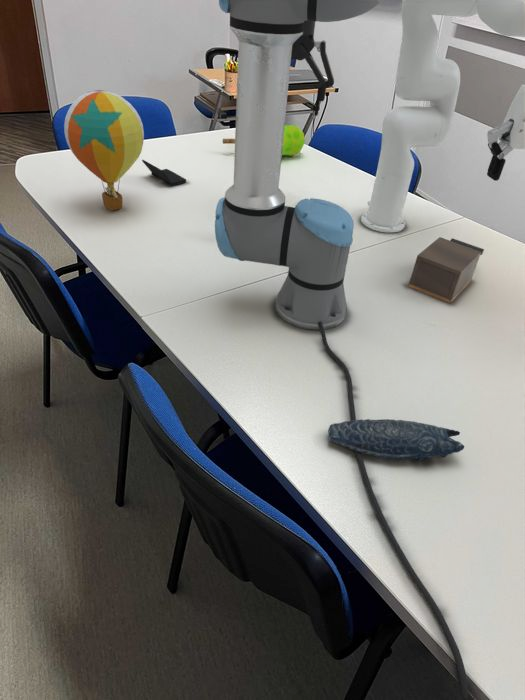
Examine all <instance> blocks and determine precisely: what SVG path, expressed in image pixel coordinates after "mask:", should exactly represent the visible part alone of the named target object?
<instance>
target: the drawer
mask: <svg viewBox="0 0 525 700" xmlns="http://www.w3.org/2000/svg"><path fill="white" fill-rule="evenodd" d="M450 241H453V242H455V243H458V244H461V245H464V246H467V247H470V248H472V249H475V250H478V251H481V255H480V256H482V255H483V253H484V252H485V249H484V248H481V247H478V246H477V245H473V244H470V243H468V242H464V241H462V240H458V239H457V238H452V237H451V239H450Z"/></svg>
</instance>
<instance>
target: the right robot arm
mask: <svg viewBox="0 0 525 700" xmlns="http://www.w3.org/2000/svg"><path fill="white" fill-rule="evenodd" d="M434 15H435V16H445V17H460V18H461V17H462V18H465V17H466V18H467V17H472V16H476V15H477V16H478V18H479V20H480V21H481V22H483V24H485V25H486V26H487V27H489V28H490V29H491V30H492V31H494V32H495V33H497V34H500V35H502V36H505V37H517V38H519V37H520V38H521V37H522V38H525V0H402V1H401V23H402V33H401V34H402V36H401V43H400V50H399V56H398V61H397V62H398V63H397V70H396V75H395V86H394V91H395V94H396V96H397V98H399V99H400V100H404V101H412V102H413V101H414V102H415V101H416V102H417V101H418V102H429V106H414V105H413V106H412V105H411V106H410V105H409V106H408V105H406V106H405V105H404V106H397V107H394V108H392V109H390V110H388V112H387V113H385V116H384V118H383V121H382V127H381V128H382V129H381V133H382V134H381V146H380V151H379V152H380V153H379V158H378V163H377V169H376V173H375V178H374V183H373V187H372V191H371V197H370V200H368V201H367V205H368V211H366V212H363V213H362V215H361V218H360V221H361V223H362V225H364V226H365V227H366V228H368V229H370V230H373V231H375V232H381V233H389V234H390V233H398V232H401V231H403V230H404V229H405V226H406V221H405V220H404V218H402V216H403V212H404V207H405V204H406V200H407V196H408V192H409V188H410V186H411V181H412V177H413V173H414V169H415V159H414V157H413V154H412V152H411V148H416V147H437V146H441V145H442V144H443V143H445V142H446V140H447V138H448V137H449V134H450V131H451V128H452V123H453V121H454V115H455V111H456V105H457V101H458V98H459V97H458V96H459V92H460V86H461V70H460V67H459V65H458V64H457V63H456V61H454V60H453V59H450V58H442V57H440V58H438V57H437V50H438V45H439V30H438V27H437V23H436V21H435V19H434V17H433V16H434ZM508 108H509V109H508V110H507V113H506V114H505V117H504V119H503V122H502V124H499V125H497V126H496V127H494V128H491V129H490V130H488V131H487V134H486V137H487V142H488V143H487V146H488V149H489V151H490V154H491V155H492V156H491V159H490V162H489V165H488V168H487V173H486V176H487V177H488V178H490V179H491V180H493V181H494V182H495V181H496V182H497V181H499V180H500V178H501V175H502V172H503V170H504V167H505V164H506V159H505V158H506V156H507V155H509V154H510V152H512V151H513V150H525V84H523V83H522V84H521V85H520V87H519V89H518V91H517V93H516V94H515V96H514V97H513V100H512V102H511V104H510V106H509V107H508Z"/></svg>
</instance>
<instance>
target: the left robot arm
mask: <svg viewBox="0 0 525 700" xmlns="http://www.w3.org/2000/svg"><path fill="white" fill-rule="evenodd" d="M380 2H382V0H218V6H219V8H220V10H221V11H222V12H224V13H225V14H229V28H230V30H231V31H232V32H233V34H234V35H235V37H236V38H237V40H238V49H237V50H238V51H237V53H238V54H237V78H236V83H237V84H236V107H235V131H234V133H235V134H234V135H235V136H234V139H235V144H234V157H233V158H234V159H233V160H234V161H233V162H234V163H233V166H234V167H233V184H232V185H231V186H229V187H228V188H227V189H226V190H225V191H224V197H221V198H220V199H218V201H217V204H216V208H215V220H214V233H215V240H216V245H217V248H218V250H219V252H220V253H221V255H223V256H224V257H225V258H229V259H235V260H238V261H240V262H253V263H259V264H267V265H272V266H273V265H274V266H280V267H287V268H288V270H287V271H288V272H287V275H286V278H285V279H284V282H283V283H282V285H281V287H280V290H279V291H278V294H277V296H276V300H275V311H276V313H277V315H278V316H279V317H280V318H281V319H282V320H283V321H284V322H286V323H287V324H289V325H291V326H293V327H296V328H300V329H304V330H310V331H319V332H320V336H321V341H322V345H323V347H324V349H325V350H326V352H327V354H328V355H329V356H330V357H331V358H332V359H333V360H334V362H336V363H337V364H338V366H340V368H341V369H342V371H343V373H344V375H345V378H346V383H347V399H348V406H349V415H350V421H352V420H357V418H356V409H355V401H354V391H353V390H354V389H353V381H352V375H351V373H350V371H349V369H348V367H347V366H346V364H345V363H344V362H343V361H342V360H341V359H340V358H339V356H337V354H335V353H334V352H333V350H332V349H331V347H330V345H329V344H328V341H327V335H326V332H325V331H326V330H329V329H333V328H336V327H337V326H339V325H340V324H342V323H343V322H344V320H345V318H346V315H347V310H348V309H347V308H348V307H347V306H348V305H347V297H346V292H345V286H344V280H345V275H346V271H347V264H348V260H349V254H350V250H351V249H350V248H351V246H352V244H353V242H354V239H353V236H354V235H353V234H354V228H355V223H354V219H353V217H352V215H351V214H350V213H349V212H348V211H347V210H346V209H345V208H343V206H340V205H338V204H336V203H334V202H331V201H329V200H326V199H322V198H315V197H314V198H313V197H311V198H304V199H300V200H299V201H298V202H297V203H296V205H295V206H294V207H293V206H286V194H285V193H284V192H283V191H282V190H281V189H280V188H279V187H280V178H281V177H280V176H281V167H282V157H283V155H282V147H283V137H284V126H285V125H286V115H287V104H288V94H289V83H290V81H289V80H290V71H291V62H292V60H297V61H304V60H305V61H306V64H308V66H309V68H310V69H311V71H312V72H313V74H314V76H315V78H316V80H317V82H318V83H319V84H318V86H317V91H316V92H317V93H316V101H315V109H314V116H316V117H318V116H319V109H320V103H321V102H324V101H325V98H326V91H327V88H328V87H332V86H334V84H335V77H334V75H333V71H332V68H331V64H330V61H329V58H328V54H327V42H326V40H324V39H323V40H320V41H318V40H317V41H315V28H316V22H320V23H334V22H340V21H341V22H342V21H345V20H349V19H353V18H356V17H359V16H362V15H364V14H366V13H368V12H370V11H371V10H373V9H374V8H376V6H378V5H379V4H380ZM314 48H316V51H317V52H318V53H319V55H320V59H321V62H322V65H323V69H324V72H325V75H326V78H325V77H324V75H323V74H322V73H323V72H322V71H321V70H320V68H319V66H318V65H317V63H316V61H315V60H314V57H313V55H312V54H311V52H312V51H313V49H314ZM355 455H356V459H357V463H358V467H359V471H360V474H361V478H362V480H363V484H364V487H365V489H366V492H367V495H368V498H369V500H370V502H371V505H372V508H373V510H374V512H375V514H376V516H377V518H378V520H379V523H380V525H381V527H382V529H383V531H384V533H385V535H386V537H387V538H388V541H389V542H390V544H391V546H392V548H393V549H394V551H395V553H396V555H397V556H398V558H399V560H400V562H401V564H402V565H403V567H404V569H405V570H406V572H407V574H408V575H409V577H410V578H411V580H412V582H413V583H414V584H415V586H416V588H417V589H418V590H419V592H420V593H421V595H422V596H423V598H424V599H425V601H426V602H427V604H428V606H429V607H430V609H431V611H432V613H433V615H434V616H435V619H436V620H437V623H438V625H439V626H440V628H441V630H442V633H443V635H444V637H445V639H446V641H447V644H448V646H449V648H450V651H451V653H452V657H453V660H454V663H455V667H456V671H457V672H456V673H457V676H458V683H459V693H460V695H461V697H462V698H464V699H467V698H469V687H468V686H469V685H468V678H467V673H466V667H465V664H464V661H463V658H462V655H461V652H460V649H459V647H458V644H457V642H456V641H455V640H456V639H455V638H454V636H453V633H452V632H451V630H450V628H449V627H450V626H449V625H448V623H447V620H446V619H445V617H444V615H443V614H442V612H441V609H440V608H439V606H438V605H437V603H436V601H435V600H434V598H433V597H432V595H431V594H430V592H429V591H428V589H427V588H426V587H425V585H424V583H423V582H422V580H421V578H419V576H418V574H417V573H416V571H415V569H414V568H413V566H412V565H411V563H410V561H409V560H408V558H407V556H406V554H405V553H404V551H403V550H402V548H401V546H400V544H399V542H398V540H397V539H396V537H395V535H394V533H393V531H392V530H391V528H390V525H389V524H388V521H387V519H386V517H385V515H384V514H383V511H382V509H381V507H380V505H379V502H378V500H377V497H376V495H375V493H374V489H373V487H372V484H371V482H370V478H369V475H368V472H367V469H366V465H365V462H364V457H363V454H362V453H360V452H358V451H356V450H355Z"/></svg>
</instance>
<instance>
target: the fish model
mask: <svg viewBox="0 0 525 700" xmlns="http://www.w3.org/2000/svg"><path fill="white" fill-rule="evenodd" d="M327 432H328V438H327V441H328V442H333V443H335V444H336V445H337V444H338V445H340V446H342V447H343V448H347V449H349V450H351V451H355V452H356V451H358V452H360V453H362V455H363V454H364V455H365V454H366V455H368V456H374V457H376V458H378V459H379V458H380V459H386V460H396V461H400V460H408V459H414V460H416V459H417V460H418V461H426V460H428V458H431V457H436V456H437V457H439V458H447V456H449V455H452V454H454V453H460V452H461V451H463V450H464V449H465V445H464V444H463V443H461V442H460V441H459V440H455V439H454V438H453V437H457V436H459V435H460V434H461V432H460V431H459V430H454V429H449V428H446V427H442V426H441V427H440V426H436V425H434V424H428V423H424V422H417V421H412V420H403V419H397V420H396V419H390V418H388V419H387V418H386V419H385V418H384V419H370V418H367V419H356V420H352V421H351V420H348V421H343V422H338V423H332V424H330V425H329V426H328V430H327Z"/></svg>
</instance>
